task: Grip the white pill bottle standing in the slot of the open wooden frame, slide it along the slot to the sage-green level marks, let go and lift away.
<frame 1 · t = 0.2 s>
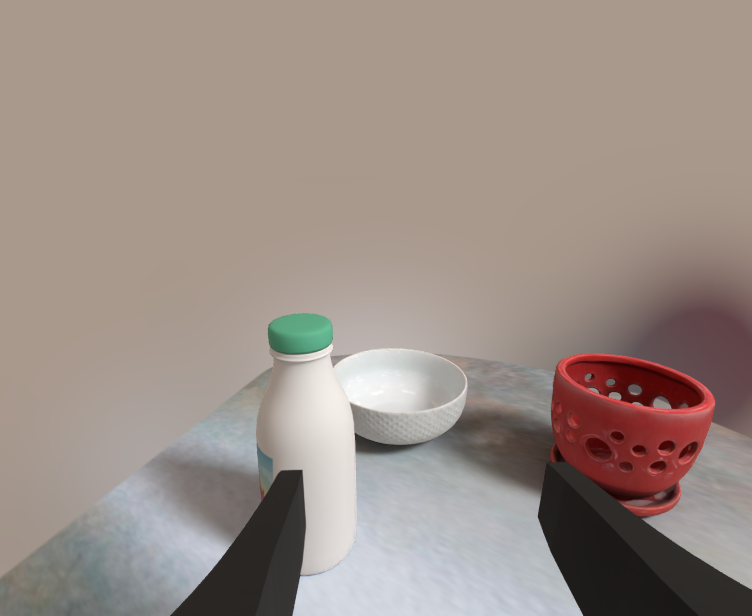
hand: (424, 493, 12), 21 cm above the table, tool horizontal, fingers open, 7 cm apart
milk bottle: (312, 540, 36), on the table
plant pot: (608, 481, 43), on the table
cereal bowl: (396, 425, 53), on the table
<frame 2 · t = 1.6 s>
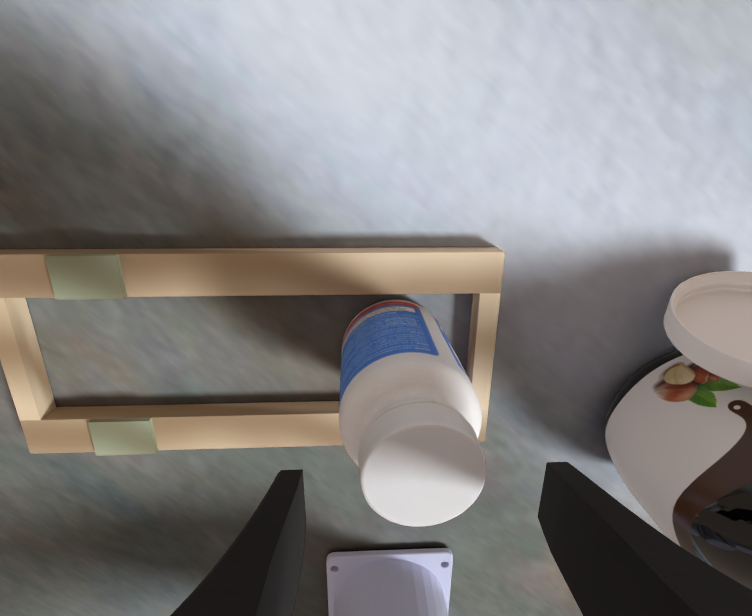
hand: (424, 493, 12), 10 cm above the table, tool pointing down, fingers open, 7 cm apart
pill bottle: (393, 344, 22), resting in open wooden frame
spread jar: (673, 372, 24), on the table
open wooden frame: (259, 348, 22), on the table
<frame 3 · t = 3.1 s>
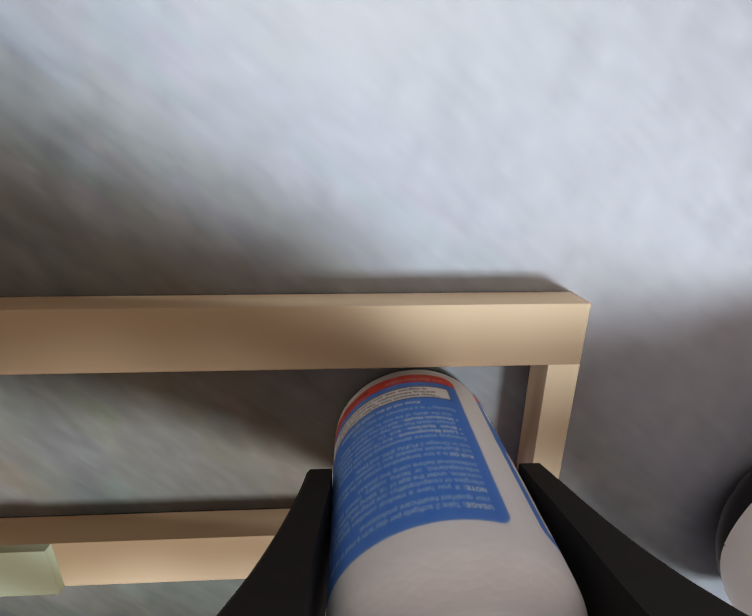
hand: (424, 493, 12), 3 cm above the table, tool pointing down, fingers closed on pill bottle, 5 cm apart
pill bottle: (410, 429, 15), resting in open wooden frame, touching gripper
open wooden frame: (213, 438, 15), on the table
when the fingers open (3 cm above the table, at t = 3.9 s): pill bottle moves 1 cm, resting in open wooden frame.
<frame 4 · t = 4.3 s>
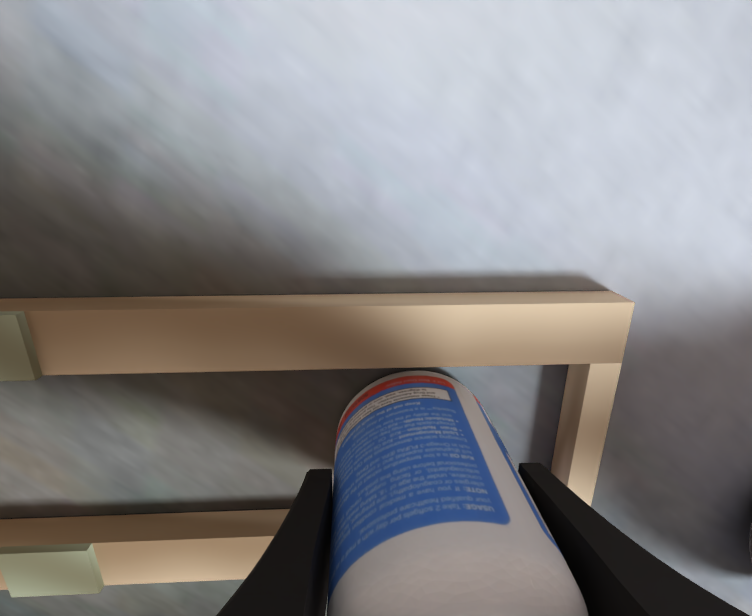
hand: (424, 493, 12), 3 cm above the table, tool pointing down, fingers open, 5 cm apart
pill bottle: (411, 430, 15), resting in open wooden frame, touching gripper
open wooden frame: (252, 437, 15), on the table
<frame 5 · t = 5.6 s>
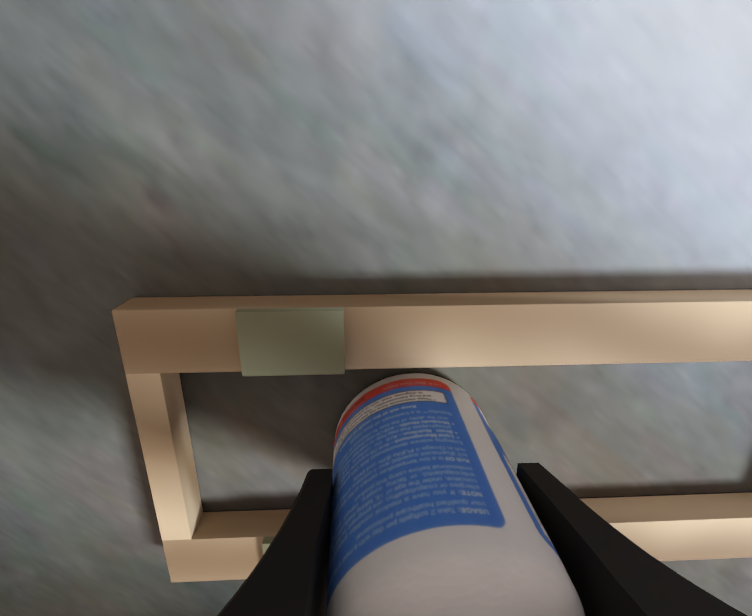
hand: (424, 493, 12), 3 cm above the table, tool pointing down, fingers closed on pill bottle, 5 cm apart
pill bottle: (409, 432, 15), resting in open wooden frame, touching gripper
open wooden frame: (499, 430, 15), on the table
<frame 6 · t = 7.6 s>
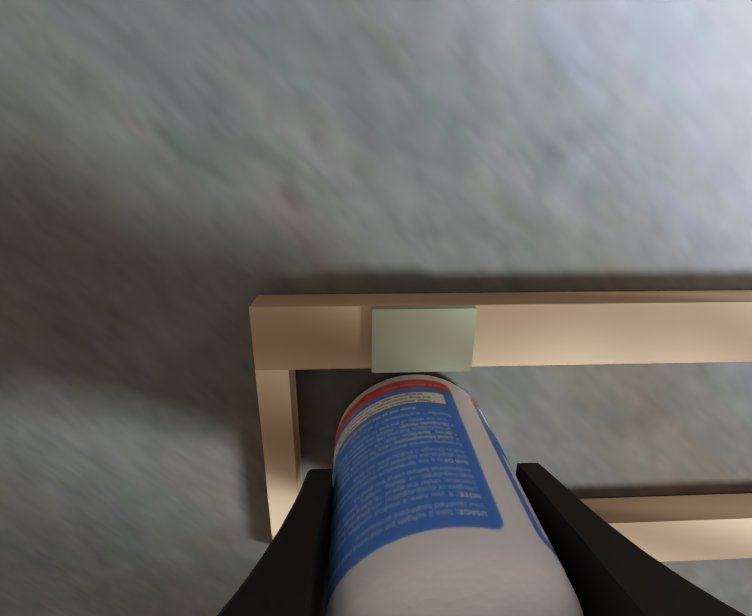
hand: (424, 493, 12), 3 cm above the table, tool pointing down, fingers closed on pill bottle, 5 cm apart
pill bottle: (410, 433, 15), resting in open wooden frame, touching gripper
open wooden frame: (601, 428, 15), on the table
when the fingers open (3 cm above the table, at t = 7.7 s): pill bottle stays where it is, resting in open wooden frame.
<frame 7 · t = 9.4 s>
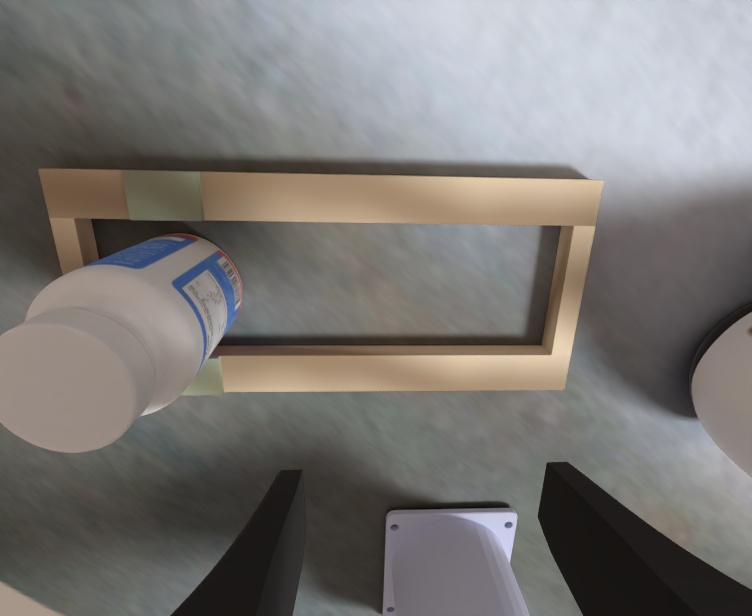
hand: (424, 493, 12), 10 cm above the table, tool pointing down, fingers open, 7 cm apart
pill bottle: (191, 286, 21), resting in open wooden frame
open wooden frame: (333, 285, 21), on the table
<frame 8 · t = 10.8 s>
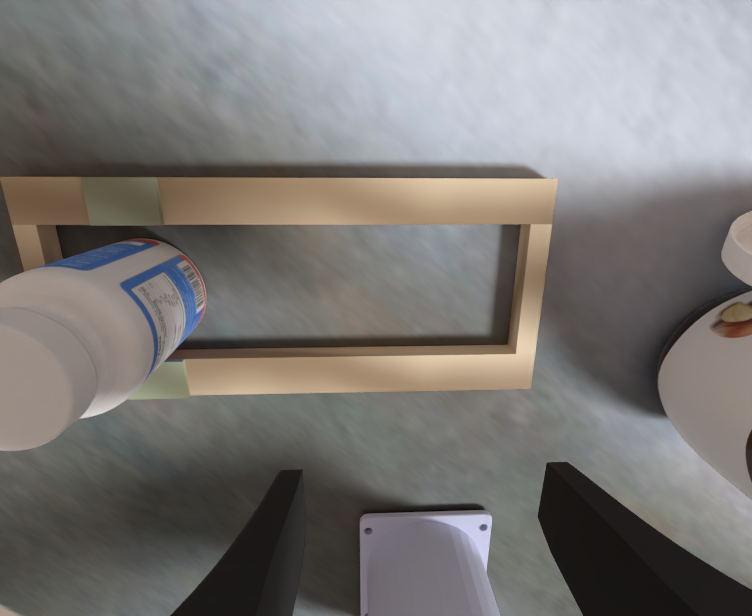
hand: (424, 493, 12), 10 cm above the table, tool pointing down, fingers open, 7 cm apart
pill bottle: (156, 290, 21), resting in open wooden frame
spread jar: (725, 318, 23), on the table
open wooden frame: (297, 287, 21), on the table
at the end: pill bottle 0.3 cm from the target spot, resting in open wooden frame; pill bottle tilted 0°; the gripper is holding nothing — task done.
